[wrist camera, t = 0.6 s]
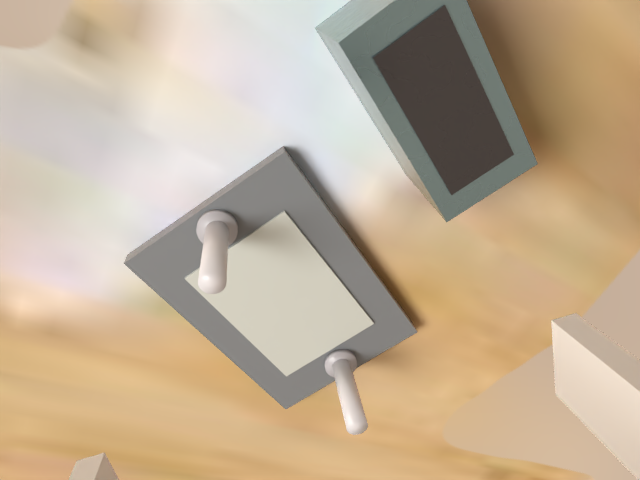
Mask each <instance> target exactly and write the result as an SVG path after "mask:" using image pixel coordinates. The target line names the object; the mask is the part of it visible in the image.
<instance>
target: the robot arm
mask: <svg viewBox="0 0 640 480" xmlns="http://www.w3.org/2000/svg"><path fill="white" fill-rule="evenodd" d="M551 323H552V341H553V358H554V376H555V394H556V396H557V397H558V398H559V399H560V400H561V401H562V402H563V403H564V404H565V405H566V406H567V407H568V408H569V409H570V410H571V411H572V412H573V413H574V414H575V415H576V416H577V417H578V418H579V420H580V421H581V422H582V423H583V424H584V425H585V426H586V427H587V428H588V429H589V430H590V431H591V432H592V433H593V434H594V435H595V436H596V437H597V438H598V439H599V440H600V441H601V442H602V443H603V444H604V445H605V446H606V447H607V448H608V450H609V451H611V453H612V454H613V455H614V456H615V457H616V458H617V459H618V460H619V461H620V462H621V463H622V464H623V465H624V466H625V467H626V468H627V469H628V470H629V471H630V472H631V473H632V474H633V475H634V476H635V478H637V480H640V359H638V358H637V357H636V356H634V355H633V354H631V353H630V352H629V351H627V350H626V349H624V348H623V347H622V346H620V345H619V344H618V343H616V342H615V341H613V340H612V339H611V338H609V337H608V336H607V335H605V334H604V333H603V332H601V331H600V330H598V329H597V328H596V327H594V326H593V325H592V324H590V323H589V322H587V321H586V320H585V319H583V318H582V317H580V316H579V315H578V314H576V313H575V314H571V315H568V316H564V317H561V318H558V319H554V320H551ZM69 480H119V479H118V477H117V475H116V473H115V471H114V469H113V468H112V466H111V464H110V462H109V460H108V458H107V456H106V454H105V453H101V454H98V455H95V456H91V457H88V458H85V459H81V460H78V461H76V464H75V466H74V468H73V471H72V473H71V475H70V477H69Z"/></svg>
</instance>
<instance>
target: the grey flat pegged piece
mask: <svg viewBox="0 0 640 480" xmlns="http://www.w3.org/2000/svg"><path fill="white" fill-rule="evenodd" d="M124 264H125V265H126V266H127V267H128V268H129V269H131V270H132V271H133V272H134V273H135V274H136V275H137V276H138V277H139V278H140V279H142V280H143V281H144V282H145V283H146V284H147V285H148V286H149V287H150V288H152V289H153V290H154V291H155V292H156V293H157V294H158V295H159V296H160V297H162V298H163V299H164V300H165V301H166V302H167V303H168V304H169V305H170V306H172V307H173V308H174V309H175V310H176V311H177V312H178V313H179V314H180V315H182V316H183V317H184V318H185V319H186V320H187V321H188V322H189V323H190V324H192V325H193V326H194V327H195V328H196V329H197V330H198V331H199V332H200V333H202V334H203V335H204V336H205V337H206V338H207V339H208V340H209V341H210V342H212V343H213V344H214V345H215V346H216V347H217V348H218V349H219V350H220V351H222V352H223V353H224V354H225V355H226V356H227V357H228V358H229V359H230V360H231V361H233V362H234V363H235V364H236V365H237V366H238V367H239V368H240V369H241V370H243V371H244V372H245V373H246V374H247V375H248V376H249V377H250V378H251V379H253V380H254V381H255V382H256V383H257V384H258V385H259V386H260V387H261V388H263V389H264V390H265V391H266V392H267V393H268V394H269V395H270V396H271V397H273V398H274V399H275V400H276V401H277V402H278V403H279V404H280V405H281V406H283V407H284V408H285V409H287V408H289V407H291V406H293V405H294V404H296V403H298V402H299V401H301V400H303V399H304V398H306V397H308V396H310V395H311V394H313V393H315V392H316V391H318V390H320V389H321V388H323V387H325V386H327V385H328V384H330V383H332V382H333V381H335V382H336V386H337V390H338V394H339V399H340V403H341V407H342V411H343V415H344V420H345V424H346V428H347V431H348V432H349V433H350V434H354V435H356V434H361V433H363V432H364V431H365V430H366V429H367V427H368V424H367V420H366V417H365V413H364V410H363V406H362V403H361V399H360V396H359V392H358V389H357V386H356V382H355V379H354V375H353V372H354V371H355V369H356V368H357V367H359V366H361V365H362V364H364V363H366V362H367V361H369V360H371V359H372V358H374V357H376V356H378V355H379V354H381V353H383V352H384V351H386V350H388V349H389V348H391V347H393V346H395V345H396V344H398V343H400V342H401V341H403V340H405V339H406V338H408V337H410V336H412V335H413V334H415V333H417V330H416V328H415V326H414V324H413V323H412V321H411V320H410V319H409V317H408V316H407V314H406V313H405V312H404V310H403V309H402V308H401V306H400V305H399V304H398V302H397V301H396V299H395V298H394V297H393V295H392V294H391V293H390V291H389V290H388V289H387V287H386V286H385V284H384V283H383V282H382V280H381V279H380V278H379V276H378V275H377V274H376V272H375V271H374V269H373V268H372V267H371V265H370V264H369V263H368V261H367V260H366V259H365V257H364V256H363V254H362V253H361V252H360V250H359V249H358V248H357V246H356V245H355V243H354V242H353V241H352V239H351V238H350V237H349V235H348V234H347V233H346V231H345V230H344V228H343V227H342V226H341V224H340V223H339V222H338V220H337V219H336V218H335V216H334V215H333V213H332V212H331V211H330V209H329V208H328V207H327V205H326V204H325V203H324V201H323V200H322V198H321V197H320V196H319V194H318V193H317V192H316V190H315V189H314V188H313V186H312V185H311V183H310V182H309V181H308V179H307V178H306V177H305V175H304V174H303V173H302V171H301V170H300V168H299V167H298V166H297V164H296V163H295V162H294V160H293V159H292V157H291V156H290V155H289V153H288V152H287V151H286V149H285V148H284V147H281V148H280V149H279V150H277V151H276V152H274V153H273V154H271V155H270V156H269V157H267V158H266V159H264V160H263V161H261V162H260V163H259V164H257V165H256V166H254V167H253V168H251V169H250V170H248V171H247V172H246V173H244V174H243V175H241V176H240V177H238V178H237V179H236V180H234V181H233V182H231V183H230V184H228V185H227V186H226V187H224V188H223V189H221V190H220V191H218V192H217V193H216V194H214V195H213V196H211V197H210V198H208V199H207V200H206V201H204V202H203V203H201V204H200V205H198V206H197V207H195V208H194V209H193V210H191V211H190V212H188V213H187V214H185V215H184V216H183V217H181V218H180V219H178V220H177V221H175V222H174V223H173V224H171V225H170V226H168V227H167V228H165V229H164V230H163V231H161V232H160V233H158V234H157V235H155V236H154V237H152V238H151V239H150V240H148V241H147V242H145V243H144V244H142V245H141V246H140V247H138V248H137V249H135V250H134V251H132V252H131V253H130V254H128V255H127V257H126V260H125V262H124Z"/></svg>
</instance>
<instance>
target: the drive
mask: <svg viewBox="0 0 640 480" xmlns="http://www.w3.org/2000/svg"><path fill="white" fill-rule="evenodd" d="M315 29H316V31H317V32H318V34H319V35H320V37H321V39H322V40H323V42H324V43H325V45H326V47H327V48H328V50H329V51H330V53H331V55H332V56H333V58H334V60H335V61H336V63H337V64H338V66H339V68H340V69H341V71H342V72H343V74H344V76H345V77H346V79H347V80H348V82H349V84H350V85H351V87H352V89H353V90H354V92H355V93H356V95H357V97H358V98H359V100H360V101H361V103H362V105H363V106H364V108H365V109H366V111H367V113H368V114H369V116H370V118H371V119H372V121H373V122H374V124H375V126H376V127H377V129H378V130H379V132H380V134H381V135H382V137H383V138H384V140H385V142H386V143H387V145H388V147H389V148H390V150H391V151H392V153H393V155H394V156H395V158H396V159H397V161H398V163H399V164H400V166H401V167H402V169H403V171H404V172H405V174H406V175H407V176H408V178H409V179H410V180H411V181H412V182H413V183H414V185H415V186H416V187H417V188H418V189H419V190H420V192H421V193H422V194H423V195H424V196H425V197H426V199H427V200H428V201H429V202H430V203H431V204H432V206H433V207H434V208H435V209H436V210H437V211H438V213H439V214H440V215H441V216H442V217H443V218H444V220H445V221H446V222H448V221H449V220H451V219H453V218H454V217H456V216H457V215H459V214H460V213H462V212H463V211H465V210H467V209H468V208H470V207H471V206H473V205H474V204H476V203H477V202H479V201H481V200H482V199H484V198H485V197H487V196H488V195H490V194H491V193H493V192H495V191H496V190H498V189H499V188H501V187H502V186H504V185H506V184H507V183H509V182H510V181H512V180H513V179H515V178H516V177H518V176H520V175H521V174H523V173H524V172H526V171H527V170H529V169H530V168H532V167H534V166H535V165H537V161H536V159H535V157H534V154H533V152H532V150H531V147H530V145H529V143H528V140H527V138H526V136H525V134H524V131H523V129H522V127H521V124H520V122H519V120H518V117H517V115H516V113H515V111H514V108H513V106H512V104H511V101H510V99H509V97H508V94H507V92H506V90H505V88H504V85H503V83H502V81H501V78H500V76H499V74H498V71H497V69H496V67H495V65H494V62H493V60H492V58H491V55H490V53H489V51H488V48H487V46H486V44H485V42H484V39H483V37H482V35H481V32H480V30H479V28H478V25H477V23H476V21H475V19H474V16H473V14H472V12H471V9H470V7H469V5H468V2H467V0H351V1H350V2H348V3H347V4H346V5H344V6H343V7H342V8H340V9H339V10H338V11H337V12H335V13H334V14H333V15H331V16H330V17H329V18H327V19H326V20H325V21H323V22H322V23H321V24H320V25H318V26H317V27H316V28H315Z"/></svg>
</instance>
